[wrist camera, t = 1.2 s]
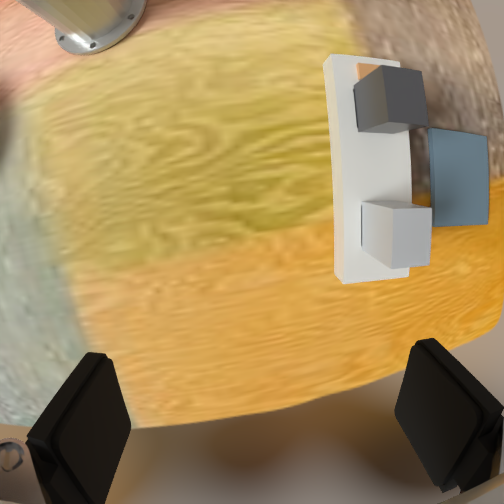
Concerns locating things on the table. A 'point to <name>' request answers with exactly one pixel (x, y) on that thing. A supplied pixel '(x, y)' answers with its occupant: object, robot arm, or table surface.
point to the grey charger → (396, 233)
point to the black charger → (390, 101)
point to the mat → (458, 178)
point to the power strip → (361, 169)
